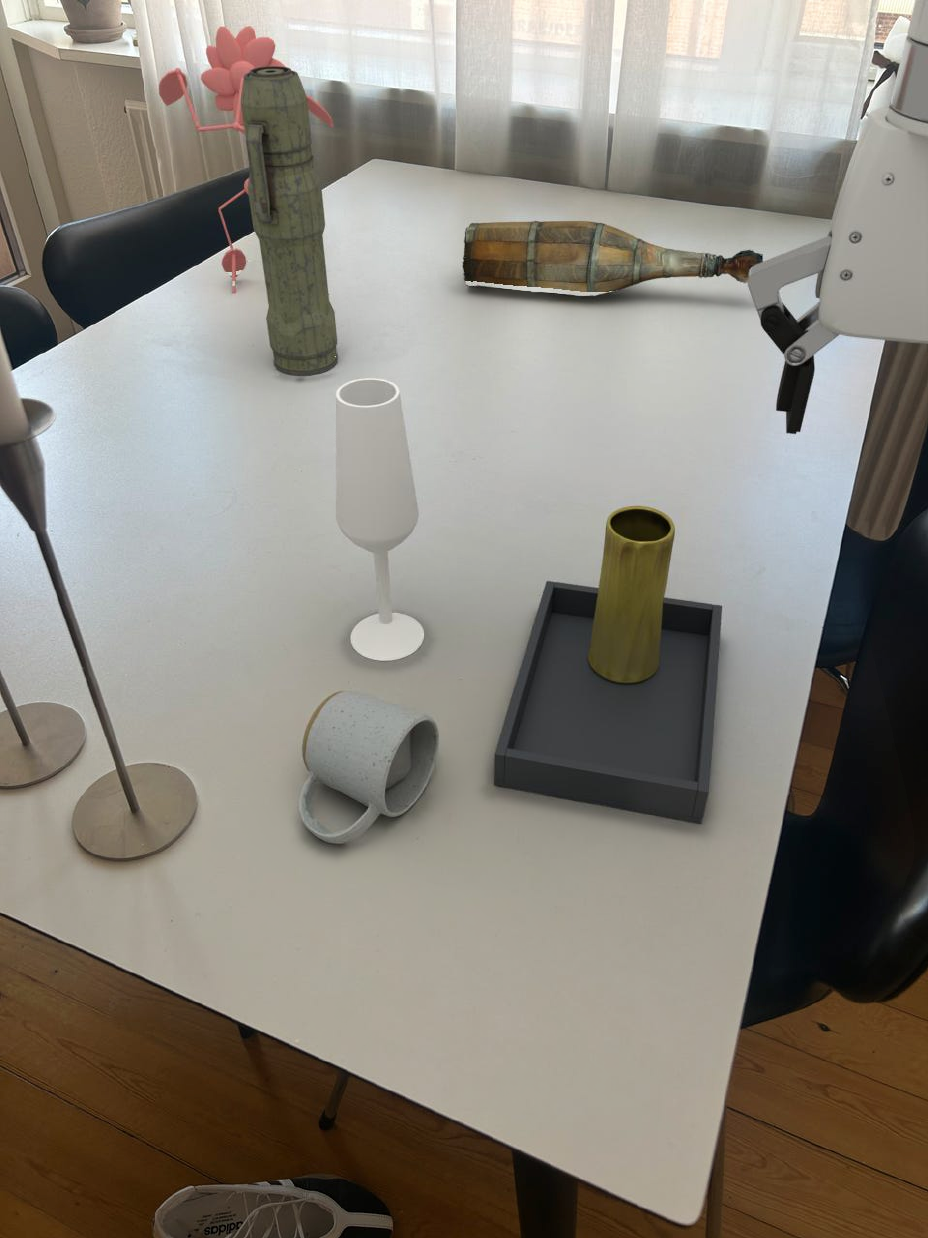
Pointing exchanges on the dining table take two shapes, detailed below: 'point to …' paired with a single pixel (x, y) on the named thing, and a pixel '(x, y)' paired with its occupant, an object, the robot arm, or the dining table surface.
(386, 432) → the champagne flute
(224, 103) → the figurine
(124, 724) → the dining table surface
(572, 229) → the decorative bottle
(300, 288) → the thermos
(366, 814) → the ceramic mug
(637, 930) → the dining table surface
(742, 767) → the dining table surface
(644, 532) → the vase
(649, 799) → the tray
